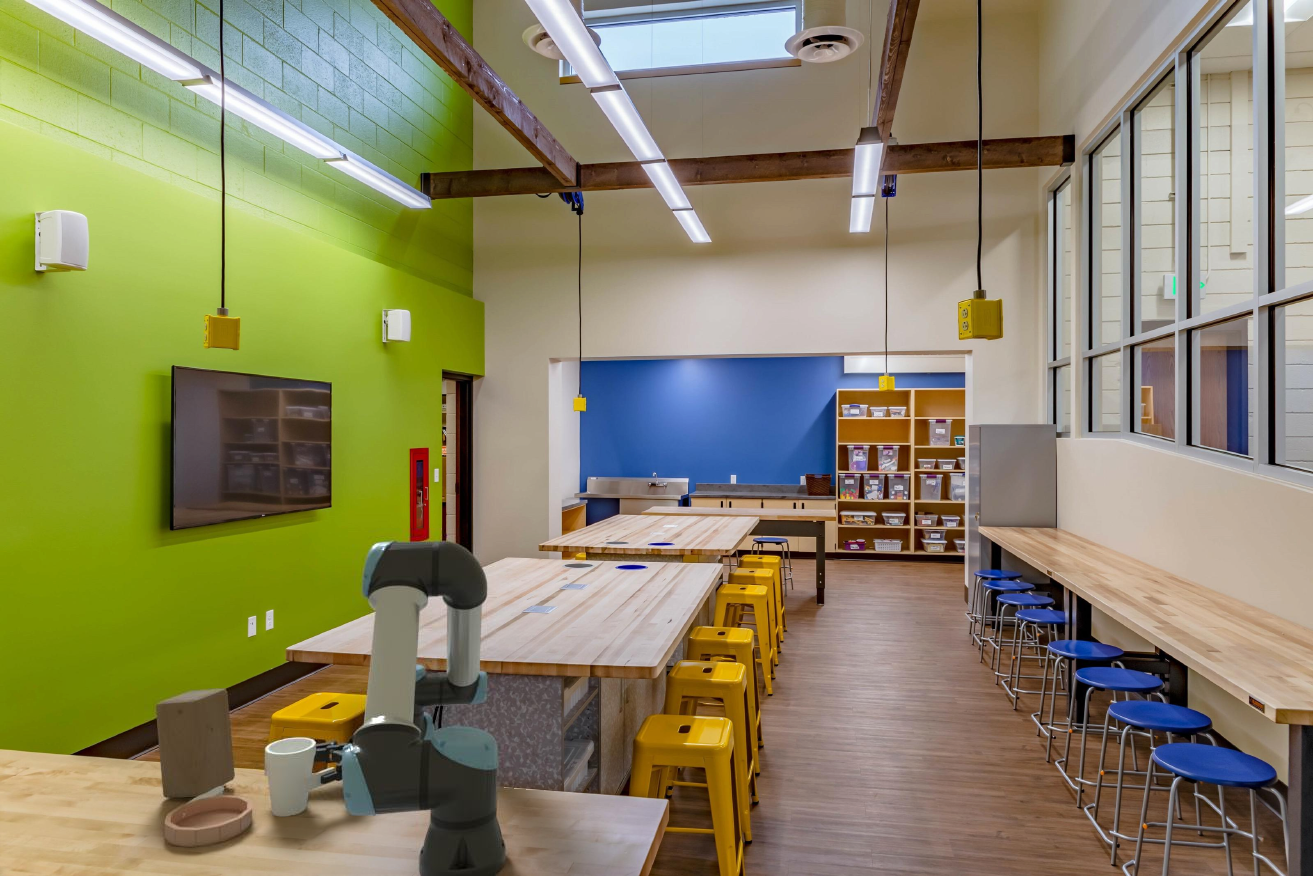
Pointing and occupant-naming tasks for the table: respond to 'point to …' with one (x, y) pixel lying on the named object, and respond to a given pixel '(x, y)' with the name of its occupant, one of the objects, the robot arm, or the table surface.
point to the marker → (209, 794)
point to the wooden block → (195, 742)
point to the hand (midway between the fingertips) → (284, 776)
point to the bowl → (208, 821)
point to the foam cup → (289, 773)
